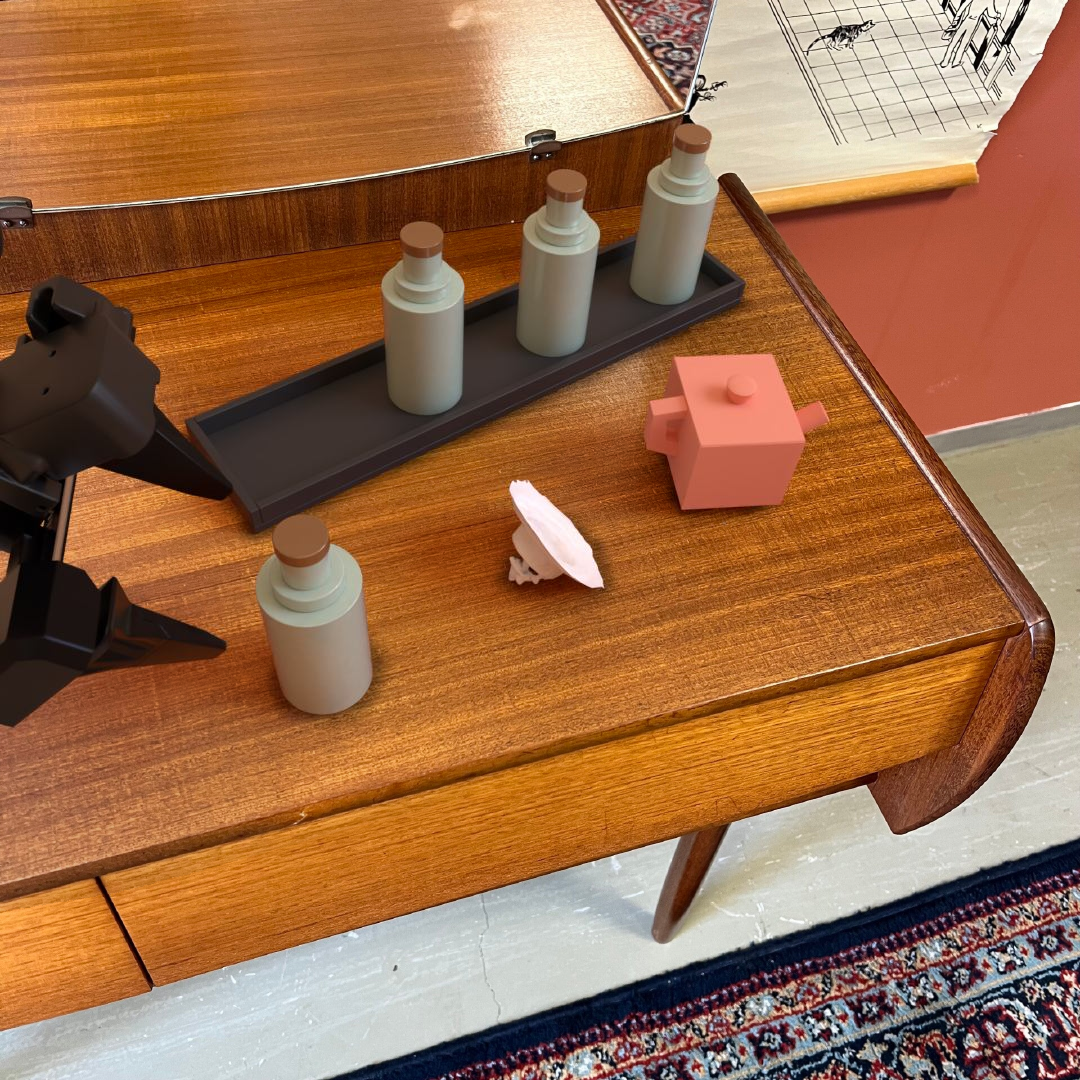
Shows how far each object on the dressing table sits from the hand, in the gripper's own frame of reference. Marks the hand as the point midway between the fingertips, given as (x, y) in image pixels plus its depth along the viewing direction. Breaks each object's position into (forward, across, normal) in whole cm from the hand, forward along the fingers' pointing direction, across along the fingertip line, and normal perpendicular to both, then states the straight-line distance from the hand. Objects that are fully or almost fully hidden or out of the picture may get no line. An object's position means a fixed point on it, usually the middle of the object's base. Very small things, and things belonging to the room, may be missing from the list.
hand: (225, 567), depth 48 cm
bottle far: (+29, +32, -14) cm, 45 cm away
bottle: (+10, 0, +5) cm, 11 cm away
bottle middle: (+22, +27, -7) cm, 35 cm away
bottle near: (+15, +22, -1) cm, 26 cm away
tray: (+19, +24, -4) cm, 31 cm away
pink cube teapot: (+29, +13, -14) cm, 35 cm away
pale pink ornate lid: (+20, +6, -5) cm, 22 cm away
